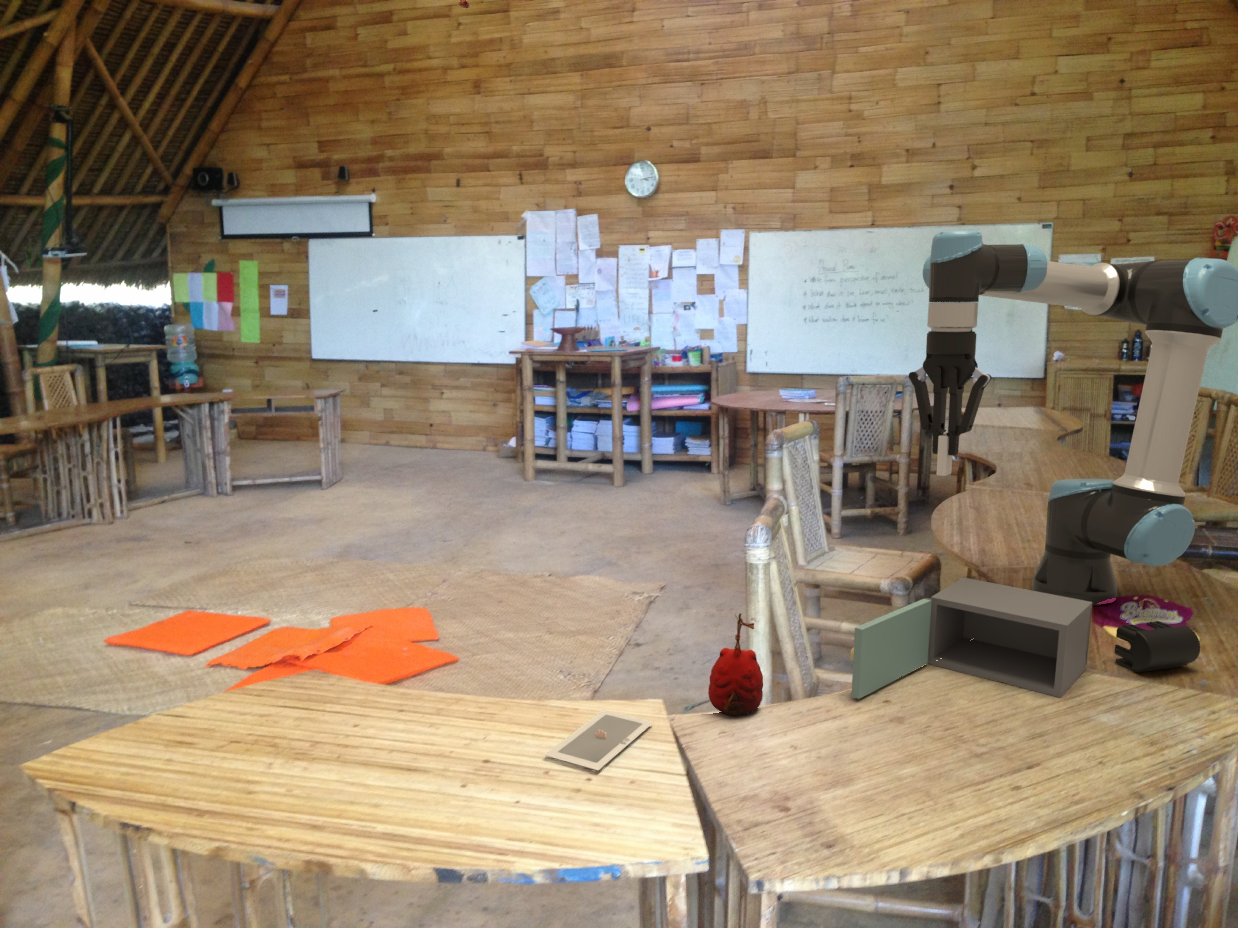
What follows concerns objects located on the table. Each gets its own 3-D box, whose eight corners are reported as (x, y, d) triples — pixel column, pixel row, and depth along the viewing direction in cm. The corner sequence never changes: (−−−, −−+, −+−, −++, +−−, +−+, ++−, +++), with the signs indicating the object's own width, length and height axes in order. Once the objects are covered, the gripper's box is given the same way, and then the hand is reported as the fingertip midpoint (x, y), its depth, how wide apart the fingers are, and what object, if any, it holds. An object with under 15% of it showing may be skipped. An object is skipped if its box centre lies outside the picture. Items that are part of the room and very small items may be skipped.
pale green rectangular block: (929, 662, 147) (933, 599, 145) (858, 698, 133) (862, 629, 132) (914, 657, 149) (918, 595, 147) (843, 693, 135) (846, 624, 133)
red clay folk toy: (761, 700, 134) (765, 600, 132) (763, 721, 127) (766, 616, 125) (708, 697, 135) (710, 597, 132) (707, 718, 128) (709, 614, 126)
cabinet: (958, 639, 159) (963, 577, 157) (1086, 669, 146) (1092, 601, 144) (926, 663, 148) (930, 596, 146) (1060, 697, 135) (1067, 625, 133)
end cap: (1147, 680, 142) (1152, 637, 141) (1110, 663, 149) (1115, 622, 148) (1198, 672, 145) (1203, 631, 144) (1160, 656, 152) (1164, 616, 151)
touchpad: (543, 762, 116) (543, 746, 116) (603, 716, 129) (603, 702, 129) (598, 778, 113) (598, 761, 112) (653, 729, 126) (653, 714, 125)
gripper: (1001, 329, 148) (991, 475, 152) (921, 328, 156) (914, 466, 160) (985, 331, 142) (976, 482, 147) (903, 330, 151) (896, 473, 155)
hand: (943, 474), depth 153 cm, fingers closed
